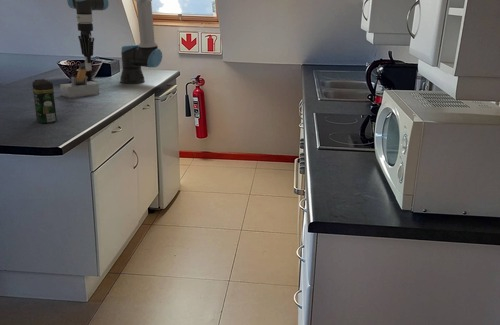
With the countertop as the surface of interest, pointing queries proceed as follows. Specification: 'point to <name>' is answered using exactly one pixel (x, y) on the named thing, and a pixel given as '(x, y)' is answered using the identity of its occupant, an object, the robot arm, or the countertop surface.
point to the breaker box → (79, 88)
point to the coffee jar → (44, 101)
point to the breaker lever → (81, 73)
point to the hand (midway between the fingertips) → (88, 68)
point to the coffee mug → (88, 74)
